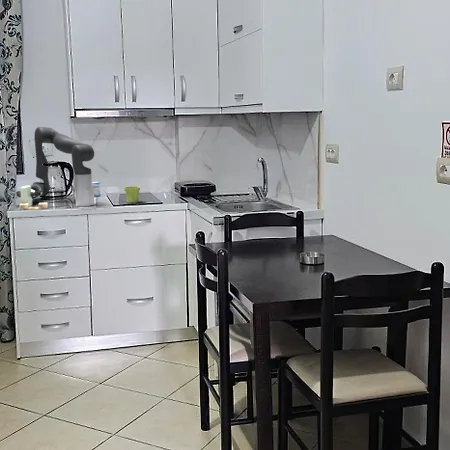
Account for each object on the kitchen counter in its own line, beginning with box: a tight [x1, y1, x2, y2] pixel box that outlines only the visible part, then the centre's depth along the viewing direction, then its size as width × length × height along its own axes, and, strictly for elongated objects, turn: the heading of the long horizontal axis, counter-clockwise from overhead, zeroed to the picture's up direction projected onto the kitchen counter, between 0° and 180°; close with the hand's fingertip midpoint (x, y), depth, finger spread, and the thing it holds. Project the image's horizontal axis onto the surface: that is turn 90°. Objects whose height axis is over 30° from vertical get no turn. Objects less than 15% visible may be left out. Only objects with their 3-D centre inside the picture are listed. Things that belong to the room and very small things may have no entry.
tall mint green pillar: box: [19, 185, 33, 207], centre depth 367 cm, size 4×8×11 cm, turn 0°
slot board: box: [18, 202, 49, 210], centre depth 360 cm, size 14×7×2 cm, turn 100°
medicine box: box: [92, 181, 102, 198], centre depth 406 cm, size 8×4×9 cm, turn 143°
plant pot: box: [123, 185, 142, 204], centre depth 377 cm, size 9×9×9 cm
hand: (24, 195), depth 364 cm, fingers open, 6 cm apart
